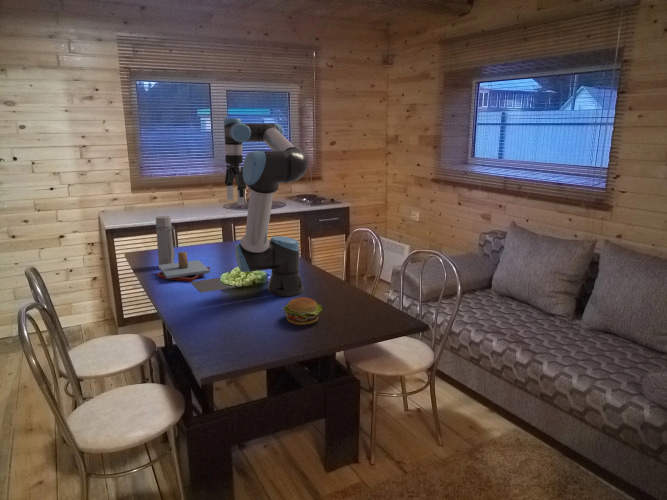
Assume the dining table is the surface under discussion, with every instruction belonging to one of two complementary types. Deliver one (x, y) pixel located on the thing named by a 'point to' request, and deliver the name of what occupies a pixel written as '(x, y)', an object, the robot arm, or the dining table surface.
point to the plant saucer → (180, 277)
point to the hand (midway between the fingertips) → (235, 202)
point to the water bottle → (164, 240)
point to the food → (302, 311)
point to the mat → (210, 285)
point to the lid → (183, 267)
